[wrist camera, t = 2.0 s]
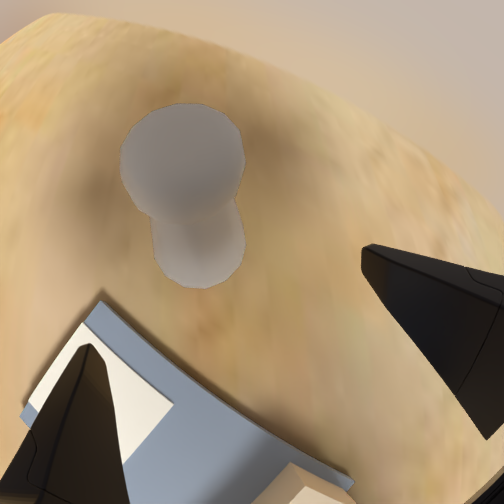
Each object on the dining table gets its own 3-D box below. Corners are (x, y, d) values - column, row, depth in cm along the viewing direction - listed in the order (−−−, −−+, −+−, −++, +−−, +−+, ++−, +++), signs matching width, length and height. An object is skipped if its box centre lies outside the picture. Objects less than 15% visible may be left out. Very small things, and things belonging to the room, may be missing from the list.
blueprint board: (350, 476, 18) (379, 503, 13) (252, 569, 14) (260, 605, 10) (105, 302, 20) (75, 291, 15) (26, 414, 16) (-11, 425, 12)
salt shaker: (200, 198, 22) (187, 57, 10) (260, 249, 22) (310, 136, 9) (143, 255, 21) (60, 152, 8) (202, 312, 20) (174, 270, 8)
